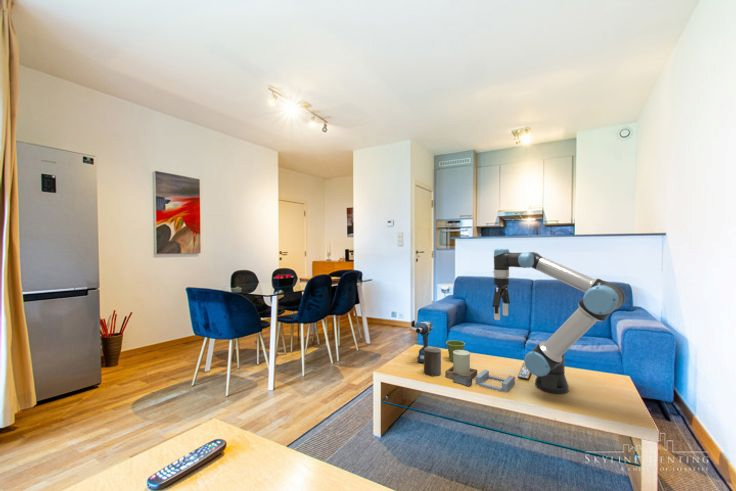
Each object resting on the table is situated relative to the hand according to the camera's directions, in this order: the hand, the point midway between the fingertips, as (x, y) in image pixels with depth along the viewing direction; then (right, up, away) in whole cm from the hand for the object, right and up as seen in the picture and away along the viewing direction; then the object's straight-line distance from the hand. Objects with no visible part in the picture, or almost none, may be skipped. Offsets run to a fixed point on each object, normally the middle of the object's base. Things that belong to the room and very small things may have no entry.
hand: (501, 317), depth 181 cm
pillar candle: (-34, -35, +14) cm, 51 cm away
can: (-19, -33, +8) cm, 39 cm away
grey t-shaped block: (-21, -35, -1) cm, 41 cm away
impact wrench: (-36, -35, +32) cm, 59 cm away
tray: (-19, -35, +8) cm, 40 cm away
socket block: (-4, -35, -2) cm, 35 cm away
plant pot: (-16, -35, +35) cm, 52 cm away
